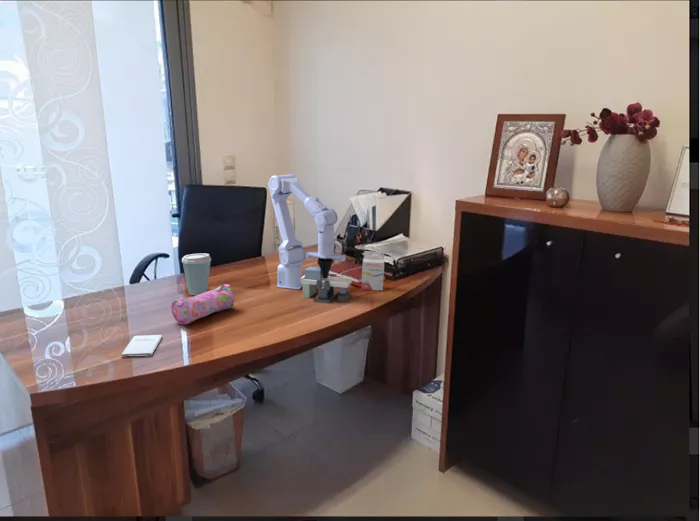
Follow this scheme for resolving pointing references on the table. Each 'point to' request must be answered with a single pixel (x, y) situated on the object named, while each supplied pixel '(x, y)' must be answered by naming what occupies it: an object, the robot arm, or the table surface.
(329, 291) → the stand
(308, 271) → the block
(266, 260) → the table surface
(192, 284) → the disposable coffee cup
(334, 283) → the plank
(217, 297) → the pencil case
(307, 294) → the level rest
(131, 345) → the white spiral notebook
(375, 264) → the ink cartridge box
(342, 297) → the tip stop
